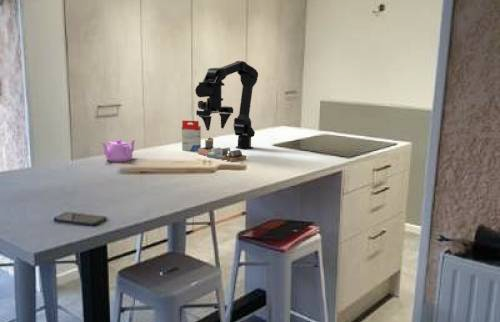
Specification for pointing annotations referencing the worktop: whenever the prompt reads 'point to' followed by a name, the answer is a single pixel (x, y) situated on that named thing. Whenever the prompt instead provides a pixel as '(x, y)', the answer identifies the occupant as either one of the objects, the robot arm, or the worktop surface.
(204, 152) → the salmon pink square tray
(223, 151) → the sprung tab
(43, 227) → the worktop surface
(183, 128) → the ink box
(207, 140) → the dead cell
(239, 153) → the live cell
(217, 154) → the grey flat block
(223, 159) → the trough
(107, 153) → the teapot
